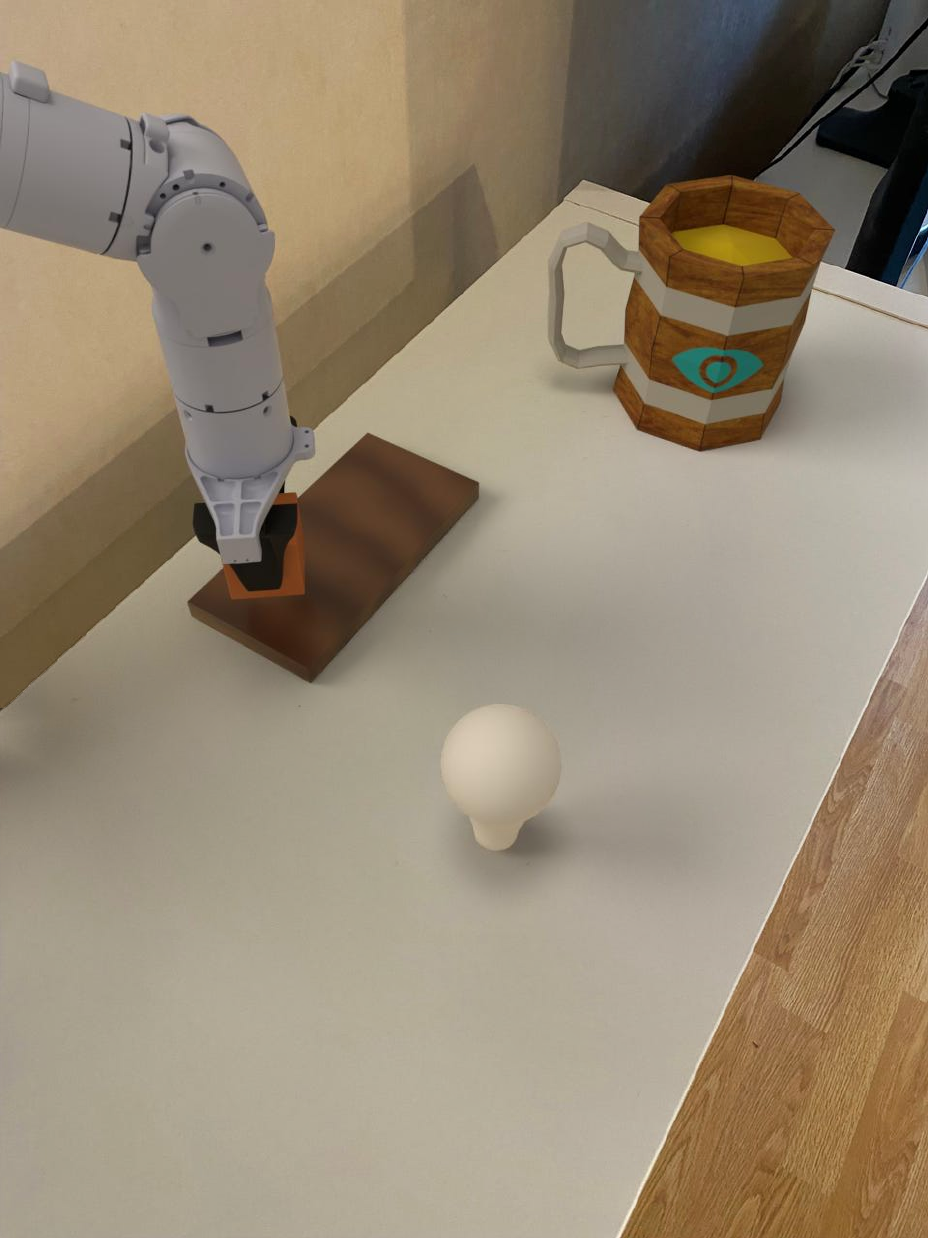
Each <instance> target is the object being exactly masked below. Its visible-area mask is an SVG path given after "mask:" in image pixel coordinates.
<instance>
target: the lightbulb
mask: <svg viewBox="0 0 928 1238" xmlns="http://www.w3.org/2000/svg"><path fill="white" fill-rule="evenodd" d="M440 753H441V754H440V775H441V782H442V783H443V786H444V788H445V790H446V792H447V794H448V797H449V798H450V800H451V801H452V803H453V804H454V805H455V807H456V808H458V809H459V810H460V811H461V812H462V813H463V814H465V815H467V816H468V818H469V821H470V823H471V825H472V829H473V835H474V838H475V840H476V841H477V843H478V844H479V845H480V846H481V847H483V848H485V849H486V850H489V851H492V852H498V851H504V850H507V849H509V848H510V847H511V846H512V845H513V844H515V842H516V841H517V839H518V836H519V833H520V829H521V828H522V827H523V825H524V823H525V821H528V820H530V819H532V818H533V817H535V816H537V815H538V814H539V813H540V812H542V810H543V809H545V807H547V805H548V804H549V803H550V801H551V800H552V798H553V796H554V795H555V794H556V792H557V789H558V787H559V784H560V781H561V775H562V768H563V765H562V755H561V750H560V747H559V743H558V740H557V739H556V737H555V735H554V734H553V732H552V730H551V728H550V727H549V726H548V725H547V723H546V722H545V720H543V719H542V718H540V717H539V716H538V715H537V714H535V713H534V712H532V711H530V710H528V709H526V708H523V707H521V706H517V705H514V704H509V703H493V704H487V705H483V706H481V707H478V708H475V709H473V710H471V711H469V712H468V713H466V714H465V715H463V716H462V717H461V718H459V720H458V721H457V722H456V723H455V725H453V727H452V728H451V729H450V731H449V732H448V734H447V737H446V738H445V741H444V742H443V745H442V749H441V752H440Z"/></svg>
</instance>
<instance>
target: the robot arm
mask: <svg viewBox="0 0 928 1238" xmlns="http://www.w3.org/2000/svg"><path fill="white" fill-rule="evenodd" d="M248 179H249V178H248V177H247V175H246V173H245V171H244V169H243V167H242V165H241V163H240V161H239V159H238V157H237V156H236V154H235V152H234V150H232V148H231V147H230V146H229V145H228V143H227V142H226V141H225V139H223V138H222V137H221V135H219V134H218V133H217V132H215V130H213V129H212V128H210V127H208V126H207V125H205V124H202V123H200V122H198V121H197V120H196V119H195V118H194V117H192V116H191V115H190V114H188V113H166V114H161V115H154V114H151V113H148V112H145V111H144V112H142V113H141V114H140V116H139V120H136V119H134V118H131V117H128V116H126V115H123V114H119V113H117V112H115V111H111V110H109V109H106V108H103V107H100V106H97V105H95V104H92V103H89V102H86V101H83V100H80V99H77V98H75V97H72V96H69V95H66V94H63V93H61V92H58V91H55V90H52V89H50V85H49V82H48V78H47V75H46V73H45V71H44V70H43V69H40V68H37V67H36V66H32V65H29V64H27V63H23V62H22V61H19V60H12V61H11V62H10V64H9V67H8V74H7V73H4V72H2V71H0V229H3V230H6V231H10V232H13V233H18V234H20V235H23V236H24V235H25V236H28V237H32V238H35V239H39V240H43V241H46V242H49V243H50V242H51V243H54V244H58V245H62V246H66V247H69V248H73V249H77V250H80V251H84V252H86V253H87V252H88V253H90V254H95V255H99V256H102V257H106V258H110V259H113V260H118V261H119V260H120V261H128V262H133V263H137V266H138V268H139V270H140V272H141V274H142V275H143V277H144V278H145V280H146V281H147V282H148V283H149V284H150V288H151V292H152V298H151V314H152V318H153V322H154V325H155V329H156V334H157V337H158V340H159V345H160V348H161V352H162V356H163V360H164V364H165V369H166V371H167V375H168V379H169V383H170V387H171V390H172V394H173V398H174V402H175V406H176V410H177V414H178V418H179V421H180V425H181V428H182V432H183V436H184V440H185V446H184V454H185V459H186V462H187V465H188V469H189V470H190V473H191V475H192V477H193V479H194V481H195V484H196V486H197V487H198V490H199V492H200V494H201V497H202V498H203V501H204V502H195V503H194V504H193V515H192V528H193V532H194V535H195V537H196V538H197V540H198V542H199V543H201V545H204V546H206V547H208V548H209V549H211V550H213V551H214V552H216V553H217V554H218V555H219V556H220V555H221V556H220V559H222V560H221V564H222V563H223V564H229V565H230V567H231V568H232V570H233V571H234V573H235V574H236V576H237V577H238V579H239V580H240V582H241V583H242V585H243V586H244V587H245V588H246V590H247V591H249V592H250V591H264V590H278V589H280V588H281V585H282V580H283V567H284V553H285V549H286V547H287V545H288V543H289V541H290V540H291V539H292V537H293V536H294V534H295V530H296V527H297V503H292V504H276V505H272V504H273V502H274V500H275V498H276V497H277V495H278V493H285V491H286V490H285V489H286V480H287V478H288V476H289V474H290V472H291V471H292V468H293V466H294V464H295V463H297V462H300V461H308V460H311V459H313V458H314V457H315V455H316V436H315V432H314V431H315V430H314V429H313V428H311V427H307V426H301V427H300V426H299V427H298V422H297V420H296V418H295V417H293V416H292V415H290V409H289V402H288V396H287V390H286V384H285V383H286V382H285V377H284V370H283V364H282V357H281V352H280V345H279V337H278V332H277V326H276V320H275V319H276V318H275V313H274V306H273V300H272V295H271V293H270V290H269V288H268V286H267V283H266V274H267V273H268V271H269V269H270V267H271V265H272V262H273V258H274V254H275V249H276V235H275V234H276V233H275V231H273V230H271V229H269V227H268V226H269V225H268V220H267V218H266V215H265V212H264V209H263V208H262V205H261V204H260V201H259V199H258V197H257V195H256V193H255V191H254V189H253V188H252V185H251V184H250V181H249V180H248ZM223 564H222V565H223Z"/></svg>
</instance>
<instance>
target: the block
mask: <svg viewBox="0 0 928 1238" xmlns="http://www.w3.org/2000/svg"><path fill="white" fill-rule="evenodd" d="M292 503H297V527H296V530H295V534H294V536H293V537H292V539H291V540H290V541H289V543H288V545H287V547H286V549H285V553H284V567H283V580H282V585H281V588H280V589H278V590H264V591H250V592H249V591H247V590H246V588H245V587H244V586H243V585H242V583H241V582H240V580H239V579H238V577H237V576H236V574H235V573H234V571H233V570H232V568H231V567H230V565H229V564H223V563H222V562H221V565H222V569H223V568H224V572H225V575H226V579H227V583H228V587H229V591H230V595H231V598H232V599H246V598H261V597H275V596H289V595H303V594H305V542H304V535H303V529H302V523H301V517H300V511H299V505H298V493H297V492H296V491H295V492H294V491H293V492H284V493H278V495H277V497H276V498H275V500H274V502H273V504H272V505H276V504H292ZM219 556H220V557H221V555H220V554H219ZM220 559H221V558H220ZM221 561H222V559H221Z"/></svg>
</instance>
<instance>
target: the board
mask: <svg viewBox="0 0 928 1238" xmlns="http://www.w3.org/2000/svg"><path fill="white" fill-rule="evenodd" d="M297 498H298V505H299V511H300V517H301V523H302V529H303V535H304V542H305V594H303V595H289V596H275V597H261V598H246V599H232V598H231V595H230V591H229V587H228V583H227V579H226V575H225V572H224V568H223V567H222V568H221V569H220V570H219V571H218V572H217V573H216V574H215V575H214V576H213V577H212V578H211V579H209V580H208V581H207V583H205V584H204V585H203V586H202V587H201V588H199V590H198V591H197V592H196V593H194V595H193V596H192V597H190V598H189V599H188V600H187V601H186V603H187V606H188V609H189V612H190V616H191V617H192V618H194V619H196V620H198V621H199V622H201V623H203V624H205V625H206V626H208V627H210V628H212V629H214V630H216V631H217V632H219V633H221V634H223V635H224V636H226V637H228V638H230V639H232V640H233V641H235V642H236V643H239V644H240V645H242V646H244V647H245V648H248V649H249V650H251V651H252V652H255V653H257V654H258V655H260V656H261V657H263V658H265V659H267V660H269V661H271V662H272V663H274V664H276V665H278V666H279V667H281V668H282V669H285V670H287V671H289V672H290V673H292V674H293V675H295V676H297V677H299V678H301V679H302V680H304V681H306V682H308V683H309V684H310V683H312V682H313V681H314V680H315V679H316V678H317V677H318V676H319V674H321V672H322V671H323V670H324V669H325V668H326V667H327V666H328V665H329V664H330V662H331V661H332V660H333V659H334V658H335V657H336V656H337V655H338V654H339V653H340V651H341V650H342V649H343V648H344V647H345V646H346V645H347V644H348V643H349V641H350V640H351V639H352V638H353V637H354V636H355V635H356V634H357V633H358V631H359V630H360V629H361V628H362V627H363V626H364V625H365V624H366V623H367V622H368V620H369V619H370V618H371V617H372V616H373V615H374V613H376V611H378V610H379V608H380V607H381V606H382V605H383V604H384V602H386V601H387V599H388V598H389V597H390V596H391V595H392V594H393V593H394V591H395V590H396V589H398V587H399V586H400V585H401V584H402V583H403V582H404V581H405V579H406V578H407V577H408V576H409V575H411V573H412V572H413V570H414V569H415V568H417V566H418V565H419V564H420V563H421V562H422V561H423V559H425V558H426V556H427V555H428V554H429V553H430V552H431V551H432V549H434V548H435V547H436V545H438V543H439V542H440V541H441V540H442V539H443V537H444V536H445V535H446V534H447V533H448V532H449V531H450V530H451V529H452V527H454V525H455V524H456V523H457V522H458V521H459V520H460V519H461V517H463V515H464V514H465V513H466V512H467V511H468V510H469V509H470V508H471V506H472V505H473V504H474V503H475V502H476V501H477V500H478V499H479V498H480V481H477V480H475V479H473V478H470V477H468V476H466V475H463V474H461V473H459V472H458V471H455V470H453V469H450V468H448V467H446V466H444V465H441V464H439V463H438V462H434V461H432V460H430V459H428V458H426V457H423V456H421V455H419V454H417V453H415V452H412V451H411V450H408V449H406V448H403V447H401V446H399V445H396V444H395V443H392V442H390V441H389V440H385V439H383V438H381V437H379V436H377V435H374V434H373V433H370V432H366V433H365V434H364V435H363V436H362V437H361V438H360V439H359V440H358V441H357V442H356V443H354V444H353V445H352V446H351V447H350V448H349V449H348V450H347V451H346V452H345V453H344V454H343V455H341V456H340V458H339V459H337V460H336V461H335V462H334V463H333V464H332V465H331V466H330V467H329V468H328V469H327V470H326V471H324V473H323V474H322V475H320V476H319V477H318V478H317V479H316V480H315V481H314V482H313V483H312V484H311V485H310V486H309V487H308V488H307V489H305V490H304V491H303V492H302V493H301V494H300V495H299V496H297Z"/></svg>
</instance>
